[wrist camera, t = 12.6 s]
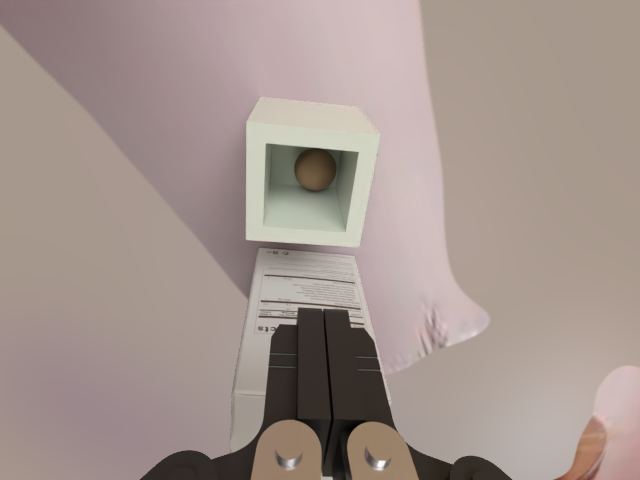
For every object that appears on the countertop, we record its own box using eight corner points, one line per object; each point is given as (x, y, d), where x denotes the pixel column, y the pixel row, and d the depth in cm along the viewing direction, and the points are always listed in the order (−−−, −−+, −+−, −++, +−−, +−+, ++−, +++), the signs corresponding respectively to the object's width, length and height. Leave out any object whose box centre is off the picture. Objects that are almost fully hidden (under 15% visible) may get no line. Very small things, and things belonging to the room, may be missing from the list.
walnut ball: (280, 172, 26) (300, 199, 25) (296, 136, 24) (318, 163, 23) (312, 174, 28) (332, 199, 27) (329, 141, 26) (351, 165, 25)
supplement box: (340, 327, 37) (362, 490, 24) (251, 321, 36) (225, 487, 23) (358, 253, 32) (397, 404, 19) (257, 243, 31) (228, 396, 18)
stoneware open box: (258, 189, 29) (245, 240, 22) (260, 96, 25) (246, 121, 18) (344, 196, 29) (359, 247, 22) (358, 106, 26) (380, 135, 19)
